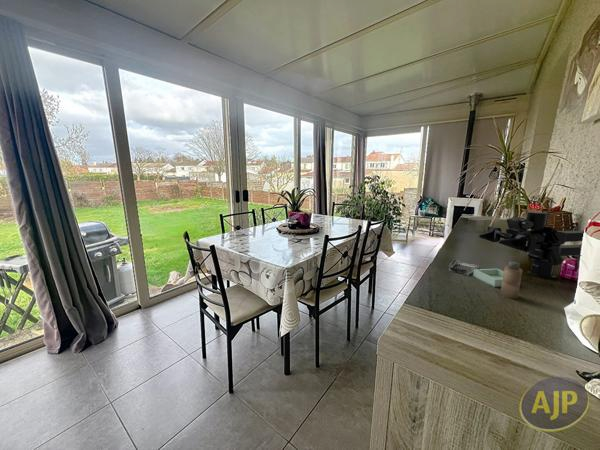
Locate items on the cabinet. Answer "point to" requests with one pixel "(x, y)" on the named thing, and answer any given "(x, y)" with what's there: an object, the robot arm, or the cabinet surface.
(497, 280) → the tray
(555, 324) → the cabinet surface
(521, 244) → the robot arm
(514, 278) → the pepper mill
